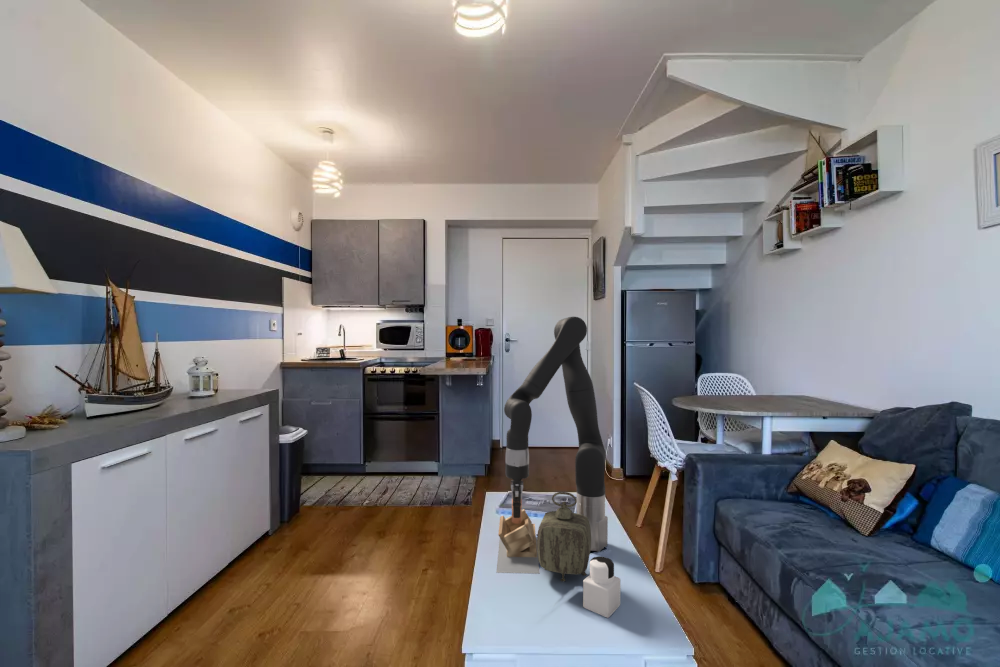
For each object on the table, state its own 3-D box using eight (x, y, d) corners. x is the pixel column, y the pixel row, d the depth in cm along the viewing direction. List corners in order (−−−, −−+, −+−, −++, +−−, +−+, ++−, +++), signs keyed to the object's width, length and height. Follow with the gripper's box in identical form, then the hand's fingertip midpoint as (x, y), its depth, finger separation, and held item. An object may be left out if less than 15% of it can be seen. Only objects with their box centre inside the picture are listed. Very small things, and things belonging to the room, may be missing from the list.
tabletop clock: (591, 575, 133) (591, 489, 133) (588, 593, 124) (588, 500, 124) (541, 568, 137) (541, 484, 137) (535, 585, 128) (535, 495, 128)
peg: (515, 518, 151) (516, 484, 151) (523, 521, 149) (524, 487, 148) (509, 521, 148) (510, 487, 148) (517, 524, 146) (517, 489, 146)
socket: (535, 537, 155) (535, 509, 155) (536, 557, 141) (536, 526, 141) (500, 536, 155) (500, 508, 155) (498, 556, 142) (498, 525, 142)
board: (539, 577, 132) (539, 573, 132) (496, 576, 133) (496, 572, 133) (536, 540, 155) (536, 536, 155) (499, 539, 156) (499, 536, 156)
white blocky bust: (595, 595, 124) (595, 550, 123) (620, 605, 119) (621, 559, 119) (582, 607, 118) (582, 561, 118) (608, 619, 114) (608, 570, 113)
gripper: (506, 455, 155) (505, 506, 156) (504, 468, 141) (504, 524, 142) (528, 455, 155) (528, 506, 155) (529, 468, 141) (528, 524, 141)
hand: (516, 514), depth 148 cm, fingers closed on peg, 3 cm apart
